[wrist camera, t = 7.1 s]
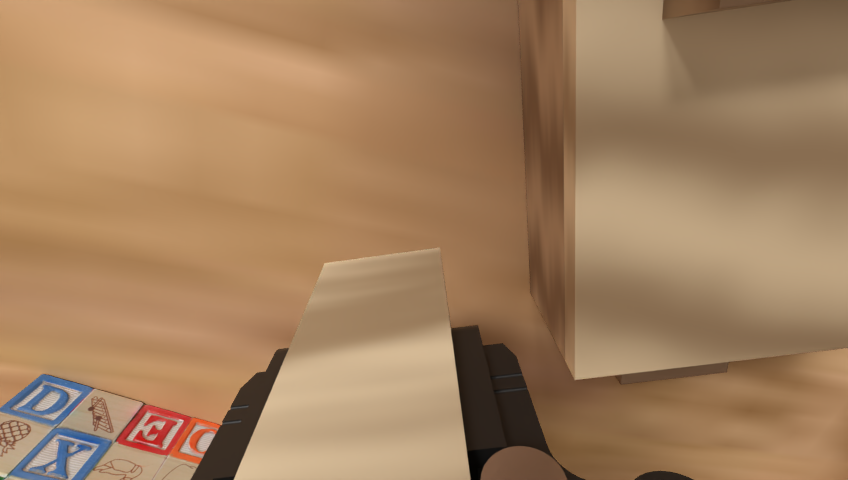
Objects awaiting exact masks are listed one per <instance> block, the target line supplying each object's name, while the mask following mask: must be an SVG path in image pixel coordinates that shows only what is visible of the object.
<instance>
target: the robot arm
mask: <svg viewBox="0 0 848 480" xmlns="http://www.w3.org/2000/svg"><path fill="white" fill-rule="evenodd" d="M451 334H452V342H453V349H454V357H455V365H456V372H457V380H458V387H459V395H460V403H461V410H462V418H463V425H464V433H465V441H466V448H467V455H468V463H469V470H470V477H471V480H584V479H582V478H579V477H577V476H576V475H574V474H572V473H570V472H569V471H567V470H566V469H565V468H563V467H562V466H561V465H560V464H559V463H558V462H557V461H556V460H555V458H554V457H553V456H552V454H551V453H550V451H549V449H548V446H547V444H546V441H545V438H544V435H543V432H542V429H541V426H540V424H539V421H538V418H537V415H536V412H535V409H534V406H533V403H532V400H531V398H530V395H529V392H528V390H527V386H526V383H525V380H524V377H523V376H522V372H521V369H520V366H519V363H518V360H517V357H516V356H515V355H514V354H513V353H512V352H511V351H510V350H509V349H508V348H507V347H506V346H505V345H504V344H503V343H502V344H493V345H485V346H483V345H482V340H481V336H480V332H479V328H478V325H474V326H466V327H458V328H451ZM288 350H289V348H284V349H278V350H277V351H276V352H275V354H274V356H273V358H272V360H271V362H270V364H269V366H268V368H267V370H266V372H259V373H256V374H255V375H254V376H253V377H252V378H251V379H250V380H249V381H248V382H247V383H246V384H245V385H244V386H243V387H242V388H241V389H240V391H239V392H238V394H237V396H236V398H235V400H234V401H233V403H232V405H231V410H229V411H228V412H227V414H226V416H225V418H224V420H223V421H222V422H223V424H222V426H220V427H219V429H218V431H217V432H216V434H215V436H214V438H213V440H212V441H211V443H210V445H209V447H208V449H207V451H206V452H205V454H204V456H203V458H202V460H201V461H200V463H199V465H198V467H197V469H196V470H195V472H194V474H193V476H192V478H191V480H234V478H235V475H236V473H237V471H238V468H239V466H240V464H241V461H242V459H243V456H244V454H245V452H246V449H247V447H248V445H249V442H250V440H251V437H252V435H253V433H254V430H255V428H256V426H257V423H258V421H259V418H260V416H261V414H262V411H263V409H264V407H265V404H266V402H267V399H268V397H269V395H270V392H271V390H272V388H273V385H274V383H275V380H276V378H277V376H278V373H279V371H280V369H281V366H282V364H283V361H284V359H285V357H286V354H287V352H288ZM635 480H693V479H691V478H689V477H686V476H684V475H681V474H677V473H673V472H666V471H653V472H648V473H645V474H643V475H640V476H639V477H637V478H636V479H635Z"/></svg>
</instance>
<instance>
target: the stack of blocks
mask: <svg viewBox="0 0 848 480" xmlns="http://www.w3.org/2000/svg"><path fill="white" fill-rule="evenodd" d="M220 426H221V425H218V424H215V423H211V422H208V421H204V420H201V419H197V418H191V417H189V416H185V415H182V414H178V413H175V412H172V411H168V410H164V409H161V408H158V407H154V406H151V405H144V404H143V403H142V402H139V401H136V400H132V399H129V398H125V397H122V396H118V395H115V394H112V393H108V392H105V391H101V390H98V389H93V388H91V387H88V386H85V385H81V384H78V383H75V382H71V381H67V380H63V379H60V378H56V377H53V376H50V375H45V374H42V375H41V376H39V377H38V378H37V379H36V380H34V381H33V382H32V383H31V384H29V385H28V386H27V387H26V388H24V389H23V390H22V391H21V392H19V393H18V394H17V395H16V396H15V397H13V398H12V399H11V400H10V401H8V402H7V403H6V404H5V405H3V406H2V407H1V408H0V480H191V478H192V476H193V474H194V472H195V470H196V469H197V467H198V465H199V463H200V461H201V460H202V458H203V456H204V454H205V452H206V451H207V449H208V447H209V445H210V443H211V441H212V440H213V438H214V436H215V434H216V432H217V431H218V429H219V427H220Z"/></svg>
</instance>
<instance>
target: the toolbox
mask: <svg viewBox="0 0 848 480" xmlns="http://www.w3.org/2000/svg"><path fill="white" fill-rule="evenodd" d="M518 11H519V35H520V58H521V81H522V105H523V128H524V152H525V175H526V199H527V222H528V246H529V269H530V292H531V295H532V297H533V299H534V301H535V303H536V305H537V307H538V309H539V311H540V313H541V315H542V317H543V319H544V320H545V322H546V324H547V326H548V328H549V330H550V332H551V334H552V336H553V338H554V340H555V342H556V344H557V346H558V348H559V350H560V352H561V354H562V356H563V358H564V360H565V266H564V117H563V0H518ZM728 363H729V362H724V363H715V364H707V365H698V366H690V367H681V368H672V369H664V370H655V371H647V372H638V373H630V374H621V375H615V376H616V378H617V379H618V381H619V382H620V384H629V383H638V382H647V381H655V380H664V379H672V378H681V377H689V376H698V375H707V374H715V373H724V372H727V368H728Z"/></svg>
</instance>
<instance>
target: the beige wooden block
mask: <svg viewBox="0 0 848 480" xmlns="http://www.w3.org/2000/svg"><path fill="white" fill-rule="evenodd" d="M234 480H471V477H470V470H469V463H468V455H467V448H466V441H465V433H464V425H463V418H462V410H461V403H460V395H459V387H458V380H457V372H456V365H455V357H454V349H453V342H452V334H451V323H450V316H449V309H448V302H447V295H446V287H445V280H444V273H443V266H442V259H441V251H440V248H433V249H426V250H419V251H411V252H404V253H397V254H389V255H382V256H375V257H368V258H360V259H353V260H346V261H338V262H331V263H325V264H324V266H323V269H322V271H321V273H320V276H319V278H318V281H317V283H316V285H315V288H314V290H313V292H312V295H311V297H310V300H309V302H308V304H307V307H306V309H305V312H304V314H303V316H302V319H301V321H300V323H299V326H298V328H297V331H296V333H295V335H294V338H293V340H292V342H291V345H290V347H289V350H288V352H287V354H286V357H285V359H284V361H283V364H282V366H281V369H280V371H279V373H278V376H277V378H276V380H275V383H274V385H273V388H272V390H271V392H270V395H269V397H268V399H267V402H266V404H265V407H264V409H263V411H262V414H261V416H260V418H259V421H258V423H257V426H256V428H255V430H254V433H253V435H252V437H251V440H250V442H249V445H248V447H247V449H246V452H245V454H244V456H243V459H242V461H241V464H240V466H239V468H238V471H237V473H236V475H235V478H234Z"/></svg>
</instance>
